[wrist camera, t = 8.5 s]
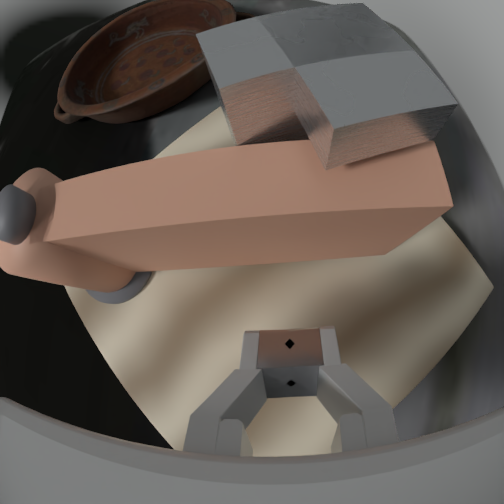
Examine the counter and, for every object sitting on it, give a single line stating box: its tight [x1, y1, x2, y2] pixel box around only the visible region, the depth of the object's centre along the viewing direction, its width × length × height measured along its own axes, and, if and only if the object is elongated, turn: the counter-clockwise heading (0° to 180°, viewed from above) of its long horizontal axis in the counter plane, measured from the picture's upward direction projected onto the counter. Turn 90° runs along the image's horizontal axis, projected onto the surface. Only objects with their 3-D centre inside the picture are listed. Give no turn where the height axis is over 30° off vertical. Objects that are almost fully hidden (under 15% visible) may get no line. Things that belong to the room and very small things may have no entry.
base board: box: [64, 106, 494, 457], centre depth 17 cm, size 23×23×2 cm
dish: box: [54, 0, 255, 124], centre depth 22 cm, size 17×22×5 cm
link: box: [0, 140, 453, 293], centre depth 12 cm, size 20×5×9 cm, turn 93°
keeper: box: [196, 3, 458, 170], centre depth 12 cm, size 6×5×12 cm
